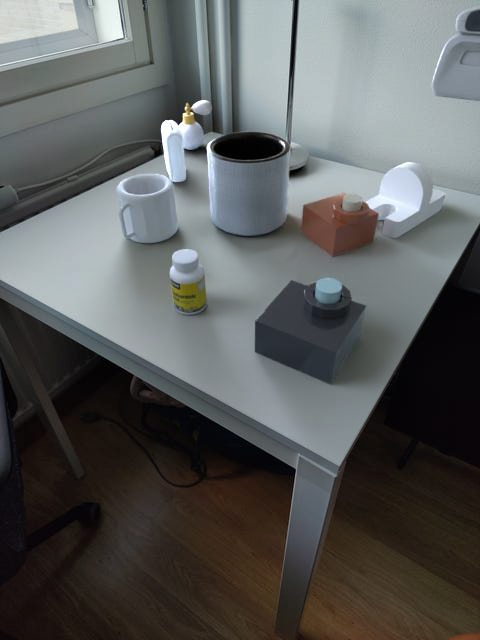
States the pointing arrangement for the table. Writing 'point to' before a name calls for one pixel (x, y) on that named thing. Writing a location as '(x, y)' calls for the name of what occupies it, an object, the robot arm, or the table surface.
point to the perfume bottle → (193, 125)
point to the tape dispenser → (406, 199)
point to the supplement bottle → (188, 282)
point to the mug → (147, 208)
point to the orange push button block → (338, 225)
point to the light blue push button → (328, 290)
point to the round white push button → (352, 202)
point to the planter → (248, 182)
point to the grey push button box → (309, 330)
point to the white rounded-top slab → (173, 151)
